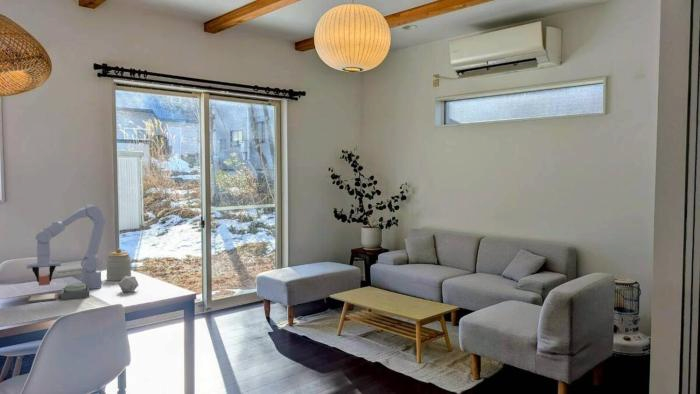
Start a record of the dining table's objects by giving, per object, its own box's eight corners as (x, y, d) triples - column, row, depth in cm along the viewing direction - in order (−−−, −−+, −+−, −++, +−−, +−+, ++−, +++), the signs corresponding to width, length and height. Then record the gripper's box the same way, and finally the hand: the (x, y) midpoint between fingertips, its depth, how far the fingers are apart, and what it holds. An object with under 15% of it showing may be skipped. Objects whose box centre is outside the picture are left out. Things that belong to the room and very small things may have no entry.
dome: (86, 288, 247) (86, 281, 247) (86, 292, 239) (86, 285, 238) (65, 290, 242) (65, 283, 242) (64, 294, 234) (64, 287, 234)
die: (125, 295, 243) (138, 279, 246) (112, 286, 245) (125, 270, 247) (132, 297, 251) (144, 282, 254) (119, 288, 252) (131, 273, 255)
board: (57, 294, 242) (57, 292, 242) (56, 300, 232) (56, 298, 231) (29, 297, 236) (29, 295, 236) (26, 302, 226) (26, 301, 226)
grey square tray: (89, 291, 249) (89, 285, 249) (89, 296, 238) (89, 290, 238) (62, 293, 243) (62, 288, 243) (61, 299, 232) (61, 293, 232)
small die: (50, 282, 246) (49, 274, 246) (49, 284, 243) (49, 275, 242) (39, 283, 244) (39, 274, 244) (38, 285, 240) (38, 276, 240)
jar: (124, 281, 272) (124, 250, 271) (102, 281, 272) (101, 250, 271) (135, 276, 285) (135, 246, 284) (113, 276, 285) (113, 246, 284)
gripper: (61, 252, 250) (61, 278, 250) (27, 254, 243) (28, 281, 243) (60, 254, 243) (60, 281, 244) (25, 256, 237) (26, 284, 237)
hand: (44, 281), depth 243 cm, fingers closed on small die, 4 cm apart
